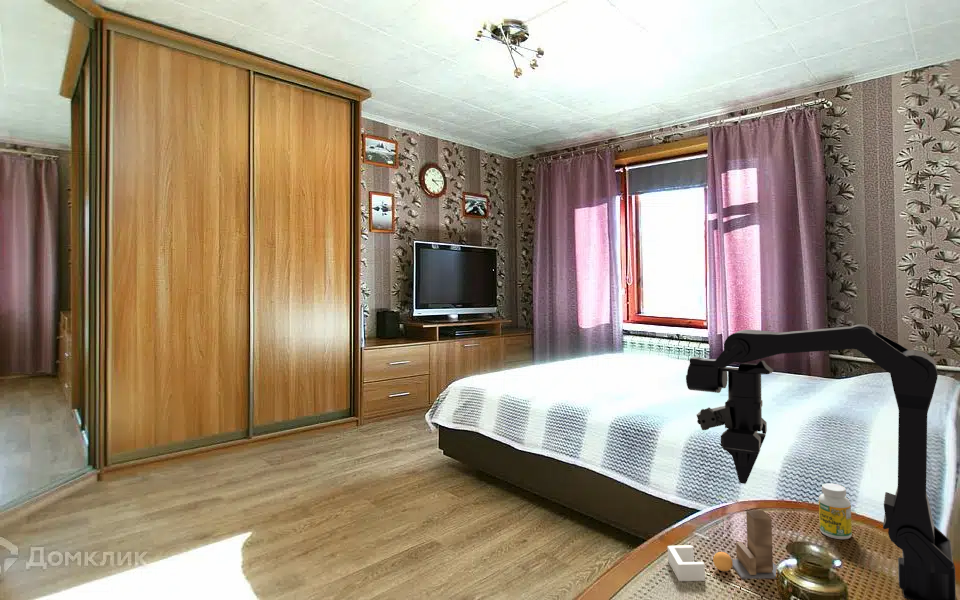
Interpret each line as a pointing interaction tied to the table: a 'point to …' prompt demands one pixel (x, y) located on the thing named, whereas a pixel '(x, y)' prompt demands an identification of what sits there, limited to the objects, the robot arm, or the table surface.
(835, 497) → the supplement bottle
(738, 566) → the grey flat plate
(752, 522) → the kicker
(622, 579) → the table surface
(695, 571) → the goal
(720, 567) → the ball
